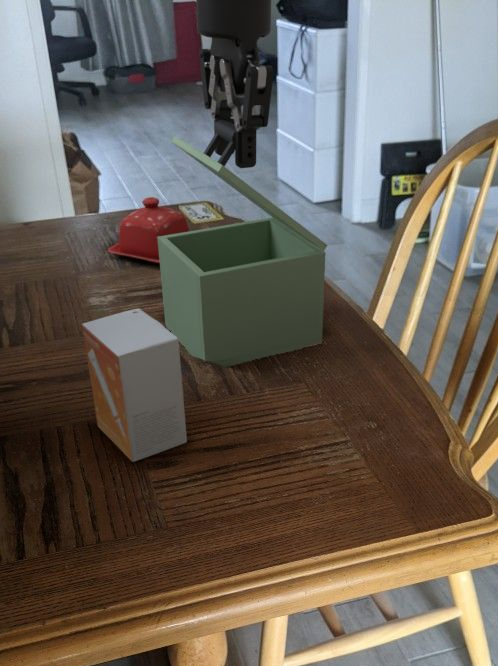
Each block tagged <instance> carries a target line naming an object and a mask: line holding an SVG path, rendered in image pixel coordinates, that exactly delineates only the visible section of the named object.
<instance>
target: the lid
mask: <svg viewBox="0 0 498 666" xmlns="http://www.w3.org/2000/svg"><path fill="white" fill-rule="evenodd" d="M214 131H215V135H213V137H212V138H211V140H210V141H209V144H208V145H207V146H206V149H205V150H204V151H203V152H202V151H201V150H199V149H198V148H196V147H194V146H193V145H191V144H190V143H188V142H186V141H184V140H183V139H181V138H180V137H179V136H176V135H174V136H173V137H172V139H171V140H170V142H171V143H172V144H173V145H175V146H176V147H177V148H179V149H180V150H182V151H183V152H184V153H185V154H187V155H188V156H189V157H191V158H192V159H194V160H195V161H196V162H198V163H199V164H200V165H202V166H203V167H204V168H206V170H208V171H210V172H211V173H212V174H214V175H215V176H216V177H217V178H219V179H221V180H222V181H223V182H224V183H226V184H227V185H228V186H230V187H231V188H232V189H234V191H236V192H238V193H239V194H241V195H242V196H243V197H244V198H246V199H247V200H249V201H250V202H252V204H254V205H255V206H257V207H258V208H259V209H261V211H264V212H265V213H266V214H267V215H269V216H270V217H271V218H272V217H273V218H275V219H276V220H278V221H279V222H281V223H282V224H284V225H285V226H287V227H288V228H290V229H291V230H293V231H294V232H296V233H297V234H299V235H300V236H302V237H303V238H305V239H306V240H308V241H309V242H311V243H312V244H314V245H315V246H317V247H318V248H320V249H321V250H323V251H324V252H325V250H326V249H327V247H328V243H325V242H324V241H323V240H322V239H320V237H318V236H317V235H315V234H314V233H312V232H311V231H309V230H308V229H307V228H306V227H305V226H303V225H302V224H300V222H298V221H297V220H296V219H294V218H293V217H291V216H290V215H289V214H288V213H286V212H285V211H284V210H283V209H281V208H280V207H278V206H277V205H275V204H274V203H273V202H272V201H271V200H269V199H268V198H267V197H265V196H264V195H262V194H261V193H260V192H258V191H257V190H256V189H255V188H254V187H252V186H251V185H249V184H248V183H247V182H245V181H244V180H243V179H242V178H240V177H239V176H237V175H236V174H235V173H233V172H232V171H231V170H230V169H229V168H228V167H226V165H227V163H228V162H229V160H230V158H231V157H232V155H234V153H235V152H234V150H235V131H236V128H235V125H234V124H232V123H230V122H228V121H226V120H224V119H220V120H218V121H217V122H216V123H215V125H214V124H213V132H214ZM222 138H223V139H224V140H226V141H228V142H230V143H229V144H228V146H227V147H226V149H225V151H224V152H223V154H222V156H220V157H219V159H218V160H215V159H213V158H212V155H213V154H214V152H215V149H216V147H217V146H218V144H219V142H220V141H221V139H222ZM233 152H234V153H233Z"/></svg>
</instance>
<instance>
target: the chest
mask: <svg viewBox="0 0 498 666" xmlns="http://www.w3.org/2000/svg"><path fill="white" fill-rule="evenodd" d="M157 239H158V250H159V261H160V263H159V270H160V272H159V273H160V282H161V293H162V303H163V313H164V324H165V325H164V327H165V328H166V329H167V330H170V331H171V333H172V334H174V335H175V336H176V337H177V338H178V341H179V344H180V345H181V346H182V347H183V346H184V347H185V348H184V347H183V348H184V349H185V350H186V351H187V353H188V354H189V355H190V356H191V357H194V358H197V359H201V360H203V362H209V363H212V364H214V365H218V366H222V367H224V368H229V367H233V366H237V365H236V364H238V365H241V364H240V363H242V364H244V363H243V362H246V363H248V362H247V361H250V362H252V361H251V360H254V361H256V360H255V359H258V358H262V357H266V356H270V355H273V354H279V353H282V352H288V351H291V350H292V352H294V351H293V350H296V349H300V348H303V347H305V346H309V345H314V344H318V343H322V344H323V325H324V300H325V278H326V277H325V276H326V251H325V250H324V251H323V250H321V249H320V248H318V247H317V246H315V245H314V244H312V243H311V242H309V241H308V240H306V239H305V238H303V237H302V236H300V235H299V234H297V233H296V232H294V231H293V230H291V229H290V228H288V227H287V226H285V225H284V224H282V223H281V222H279V221H278V220H276V219H275V218H273V217H272V216H271V217H265V218H261V219H254V220H248V221H243V222H236V223H230V224H225V225H220V226H214V227H207V228H202V229H195V230H190V231H189V232H183V233H177V234H171V235H165V236H159V237H157ZM300 350H301V349H300ZM296 351H297V350H296ZM288 353H289V352H288ZM279 355H280V354H279ZM258 360H259V359H258Z"/></svg>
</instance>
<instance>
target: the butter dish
mask: <svg viewBox="0 0 498 666" xmlns="http://www.w3.org/2000/svg"><path fill="white" fill-rule="evenodd" d="M141 203H142V206H144V207H141V208H138V209H136V210H134V211H132V212H131V213H129V214H127V215H126V216H125V217H124V218H123V219H122V220H121V221H120V223H119V231H118V242H117V243H115V244H113V245H112V246H110V247H109V248H108V249H107V252H108V253H109V254H113V255H118V256H122V257H128V258H133V259H137V260H141V261H147V262H151V263H156V264H160V261H159V250H158V239H157V237H159V236H165V235H171V234H177V233H183V232H189V231H191V230H190V227H189V224H188V222H187V218H186V216H185V215H184V213H182V212H181V211H178V210H176V209H173V208H170V207H164V206H159V204H160V199H159V198H157V197H153V196H150V197H149V196H148V197H146V198H144V199H143V200H142V201H141Z"/></svg>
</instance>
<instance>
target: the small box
mask: <svg viewBox="0 0 498 666" xmlns="http://www.w3.org/2000/svg"><path fill="white" fill-rule="evenodd" d="M81 330H82V336H83V342H84V347H85V354H86V360H87V366H88V374H89V379H90V386H91V391H92V396H93V397H92V399H93V404H94V405H93V406H94V411H95V417H96V418H95V419H96V424H97V428H99V429H100V430H101V431H102V432H103V433H104V435H106V437H107V438H109V439H110V441H112V442H113V444H114V445H115V446H116V447H117V448H118V449H119V450H120V451H121V452H122V453H123V454H124V455H125V456H126V457H127V458H128V459H129V461H130V462H132V463H134V462H138V461H139V460H142V459H145V458H148V457H150V456H153V455H157V454H160V453H161V452H164V451H167V450H169V449H172V448H175V447H178V446H181V445H183V444H186V443H187V442H188V437H187V435H188V434H187V426H186V425H187V424H186V413H185V402H184V401H185V400H184V388H183V387H184V386H183V377H182V376H183V375H182V365H181V353H180V342H179V341H178V338H177V337H176V336H175V335H174V334H172V333H171V332H170V331H169V329H168V328H167V327H166V326H165V325H163V324H162V323H161V322H159V321H158V320H157V319H155V318H153V317H152V316H150V315H149V314H148V313H146V312H145V311H144V310H143V309H141V308H134V309H130V310H125V311H122V312H118V313H115V314H111V315H107V316H103V317H101V318H97V319H94V320H90V321H86V322H84V323H83V322H82V323H81Z"/></svg>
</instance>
